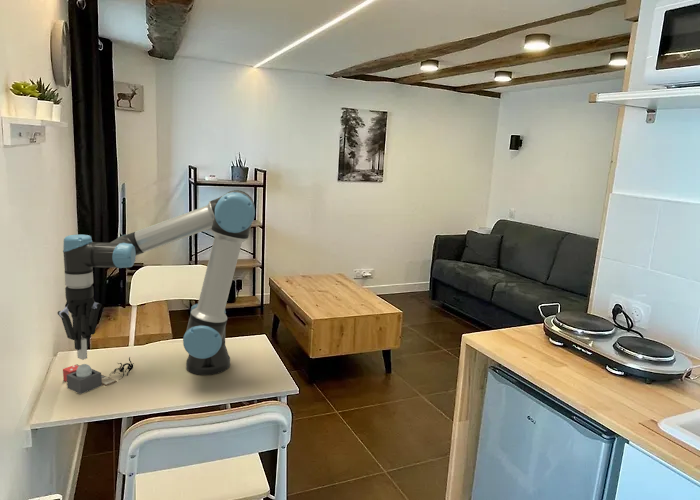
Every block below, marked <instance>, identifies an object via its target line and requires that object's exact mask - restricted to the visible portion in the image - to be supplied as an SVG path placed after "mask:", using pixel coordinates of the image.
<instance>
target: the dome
mask: <svg viewBox="0 0 700 500" xmlns="http://www.w3.org/2000/svg"><path fill="white" fill-rule="evenodd" d="M91 369H92V366H90V364H87V363H83V364H80V366H79V367H78V368H77V370H76V375H77V377H78V378H81V379H82V378H84V377H87V376H90V375H92V371H91Z"/></svg>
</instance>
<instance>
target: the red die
mask: <svg viewBox="0 0 700 500" xmlns="http://www.w3.org/2000/svg"><path fill="white" fill-rule="evenodd" d="M78 367H79V366H77V365H76V364H74V365H71V366H67V367H65V368H62V374H63V376H62V377H63V382H66V383H67V375H68V374H70V373H73V372H76V370H77V368H78Z"/></svg>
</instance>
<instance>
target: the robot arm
mask: <svg viewBox="0 0 700 500" xmlns="http://www.w3.org/2000/svg"><path fill="white" fill-rule="evenodd" d="M254 202H255V201H254V200H253V198H252V197H251V196H250V194H248V193H247V192H245V191H242V190H240V189H239V190H238V189H236V190H235V189H233V190H231V191H228V192H226V193H225V194H223V195H221V196H219V197H218V198H217V197H216V198H215V199H213V200H210V201H208V204H207V205H205V206H202V207H199V208H195V209H193V210H191V211H188V212H186V213H182V214H180V215H177V216H174V217H171V218H168V219H166V220H163V221H160V222H158V223H155V224H152V225H150V226H146V227H144V228H141V229H138V230H136V231H134V232H130V233H127V234H125V233H124V234H123V235H120V236H118V237H116V239H114V240H112V241H110V242H95V241H93V240H92V235H90V234H89V235H88V234H71V235H66V236H65V237H64V238H63V248H62V249H63V250H62V252H63V264H64V265H63V266H64V267H63V268H64V285H65V286H66V287H65V288H64V289H65V300H66V303H65V306H64V308H63V309H62V310H58V311H57V315H58V316H59V317H60V318H61V322H62V324H63V328H64V330H65V334H66V337H67V338H68V339H69V340H72V341H74V350H77V351H76V354H77V359H79V360H82V361H83V360H86V359H88V347H89V346H90V339H91V338H92V335H94V334H96V329H97V324H98V319H99V314H100V310H101V308H102V307H103V305H102V303H99V302H96V301H95V299H94V296H95V295H94V286H93V284H94V273H93V272H94V269H93V268H115V269H116V268H117V269H122V268H123V269H125V268H132V267H133V266H134V264H135V263H136V257H137V256H139V255H142V254H144V253H146V252H149V251H152V250H154V249H158V248H160V247H163V246H166V245H168V244H171V243H174V242H176V241H179V240H182V239H185V238H187V237H188V238H189V237H190V236H193V235H196V234H198V233H202V232H205V231H208V230H210V229H211V232H212V234H213V236H214V239H213V241H212V242H213V243H212V246H211V250H210V253H209V259H208V262H207V266H206V270H205V274H204V278H203V282H202V287H201V291H200V295H199V298H198V303H195V304H193V305H192V306H191V308H190V312H189V313H190V315H189V318H188V323H187V327H186V331H185V333H184V334H183V337H182V340H183V342H182V343H183V348H184V350H185V351H186V352H187V354H188V356H187V358H186V363H185V365H186V367H185V368H186V370H187V371H188V372H189V373H191V374H195V375H200V376H201V375H203V376H206V375H207V376H208V375H209V376H210V375H215V374H216V375H217V374H220V373H222V372H224V371H227V370H228V369H229V368H230V367H231V357H230V355H229V352H228V349H227V347H226V325H227V322H228V316H227V314H226V313H227V311H226V305H227V304H228V302H227V301H228V299H229V294H230V290H231V287H232V283H233V279H234V275H235V271H236V267H237V263H238V259H239V256H240V252H241V247H242V244H243V242H245V241H247V240H249V235H250V232H251V228H252V224H253V222H254V219H255V217H256V216H255V215H256V209H255V203H254ZM70 315H71V318H70ZM71 319H72V321H71Z"/></svg>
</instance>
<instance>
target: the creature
mask: <svg viewBox="0 0 700 500" xmlns="http://www.w3.org/2000/svg"><path fill="white" fill-rule="evenodd" d="M128 361H129V363H127V362H125V363H122V362H117V364H118V365H119V367H117V368H116V367H115V368H114V370H113V374H116V373H117V370H118V371H119V372H118V374H119V375H120V374H121V373H122V374H123V375H121V376H120V378H118V380H121V379H123V378H124V377H128V376H129V373H130V372H131V371H132V370H133V369H134V365H135V363H134V362H133V363H132V361H131V356H129V358H128ZM126 366H127V368H126V369H125V367H126ZM127 371H128V372H127ZM125 373H126V375H125ZM110 376H112V372H110V374H109V377H110Z"/></svg>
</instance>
